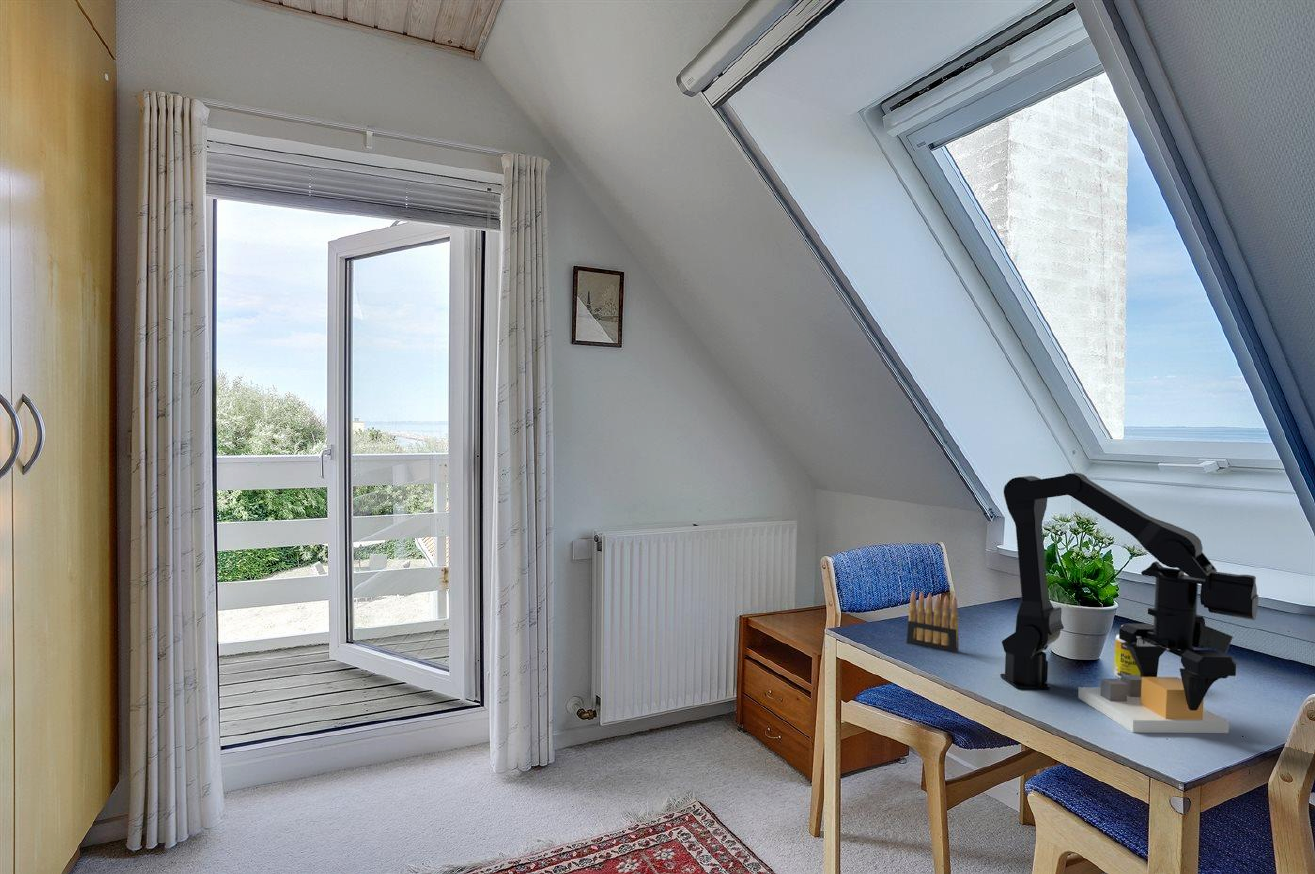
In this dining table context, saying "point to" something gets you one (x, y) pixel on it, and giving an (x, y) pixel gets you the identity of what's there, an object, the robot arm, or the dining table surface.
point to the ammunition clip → (933, 624)
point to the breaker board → (1143, 709)
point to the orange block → (1167, 698)
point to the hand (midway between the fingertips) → (1171, 698)
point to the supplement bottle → (1124, 660)
